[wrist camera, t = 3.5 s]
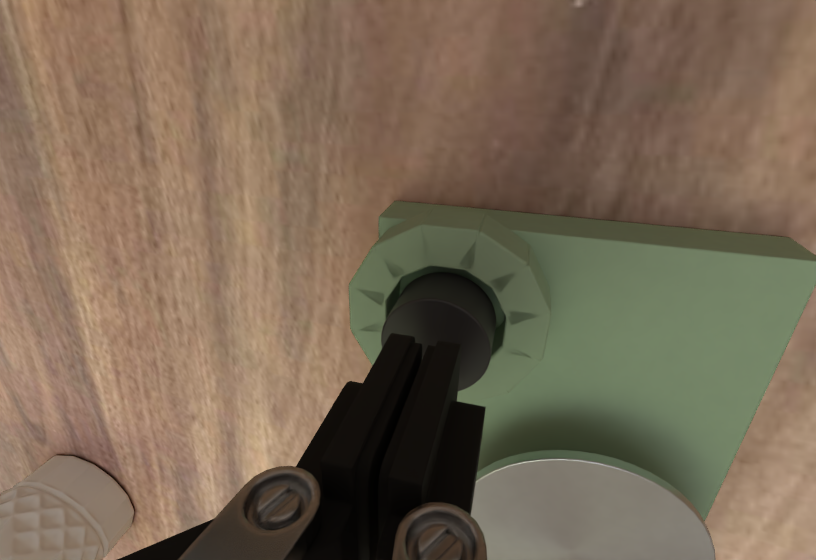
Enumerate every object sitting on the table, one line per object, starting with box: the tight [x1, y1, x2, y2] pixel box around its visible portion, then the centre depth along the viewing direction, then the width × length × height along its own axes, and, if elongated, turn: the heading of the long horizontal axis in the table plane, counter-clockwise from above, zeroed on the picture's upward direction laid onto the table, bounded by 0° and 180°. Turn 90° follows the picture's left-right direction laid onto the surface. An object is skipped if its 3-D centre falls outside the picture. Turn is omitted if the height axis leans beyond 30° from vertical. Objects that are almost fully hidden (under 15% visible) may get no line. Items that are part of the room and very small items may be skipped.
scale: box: [349, 201, 816, 521], centre depth 16 cm, size 15×12×4 cm
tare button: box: [381, 272, 496, 391], centre depth 13 cm, size 3×3×2 cm
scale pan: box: [471, 450, 716, 560], centre depth 16 cm, size 8×8×1 cm
